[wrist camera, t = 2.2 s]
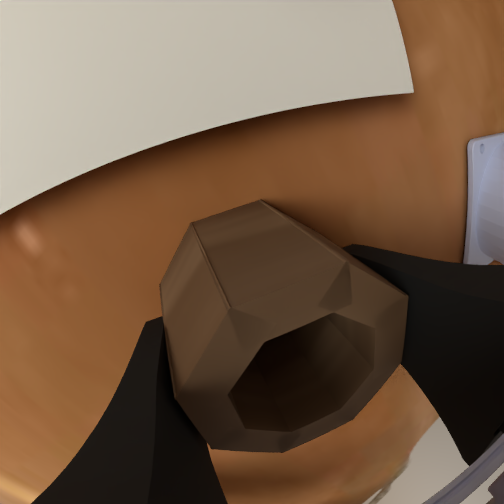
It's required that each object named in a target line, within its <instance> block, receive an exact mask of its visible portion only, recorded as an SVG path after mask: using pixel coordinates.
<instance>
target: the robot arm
mask: <svg viewBox="0 0 504 504" xmlns="http://www.w3.org/2000/svg"><path fill="white" fill-rule="evenodd" d="M467 155H468V209H467V228H466V240H465V251H464V260H463V264H462V263H452V262H444V261H438V260H432V259H426V258H421V257H416V256H411V255H406V254H402V253H397V252H393V251H388V250H383V249H379V248H374V247H369V246H364V245H356V244H352V245H349V246H347V247H344V248H342V249H343V250H345V251H346V252H348V253H349V254H350V255H352V256H353V257H355V258H356V259H358V260H359V261H361V262H362V263H363V264H365V265H366V266H368V267H369V268H370V269H372V270H373V271H375V272H376V273H378V274H379V275H380V276H382V277H383V278H385V279H386V280H387V281H389V282H390V283H391V284H393V285H394V286H396V287H397V288H398V289H400V290H401V291H402V292H404V293H405V294H407V295H408V297H409V298H408V307H407V319H406V329H405V338H404V347H403V355H402V362H401V365H402V366H403V367H404V368H405V369H406V370H407V371H408V373H409V374H410V375H411V376H412V378H413V379H414V380H415V382H416V383H417V384H418V386H419V387H420V388H421V390H422V391H423V392H424V394H425V395H426V397H427V398H428V399H429V401H430V402H431V404H432V405H433V407H434V408H435V410H436V411H437V413H438V414H439V416H440V418H441V419H442V421H443V423H444V424H445V426H446V427H447V429H448V431H449V433H450V434H451V436H452V438H453V440H454V442H455V444H456V446H457V448H458V450H459V452H460V454H461V456H462V458H463V459H464V461H465V462H466V463H467V464H468V465H469V467H468V468H467V469H466V470H465V471H464V472H463V473H461V474H460V475H459V476H458V477H457V478H455V479H454V480H453V481H452V482H451V483H449V484H448V485H447V486H445V487H444V488H443V489H442V490H440V491H439V492H438V493H436V494H435V495H434V496H432V497H431V498H430V499H428V500H427V501H425V502H424V503H423V504H459V503H461V502H462V501H463V500H464V499H465V498H467V497H468V496H469V495H470V494H471V493H472V492H473V491H475V490H476V489H477V488H478V487H479V486H480V485H481V484H482V483H483V482H484V481H485V480H487V479H488V477H490V476H491V475H492V474H493V473H494V472H495V471H496V470H497V468H499V467H500V465H501V464H502V463H503V462H504V265H488V264H489V263H491V262H492V261H493V260H496V261H498V262H500V263H502V264H504V133H498V134H493V135H489V136H484V137H479V138H474V139H471V140H470V141H469V143H468V146H467ZM488 491H489V492H490V493H491V494H492V495H493V498H492V499H491V500H490V501H489V502H488V503H486V504H504V472H503V473H502V474H501V475H500V476H499V477H498V478H497V479H496V480H495V481H494V482H493V483H492V484H491V486H489V488H488ZM31 504H228V503H227V501H226V498H225V496H224V493H223V491H222V488H221V486H220V483H219V481H218V478H217V475H216V472H215V470H214V467H213V464H212V461H211V458H210V454H209V450H208V446H207V442H206V440H205V439H204V438H203V436H202V435H201V434H200V432H199V431H198V430H197V428H196V427H195V426H194V424H193V423H192V421H191V420H190V419H189V417H188V416H187V414H186V413H185V412H184V410H183V409H182V407H181V406H180V404H179V403H178V401H177V400H175V398H174V392H173V386H172V380H171V374H170V368H169V361H168V354H167V347H166V340H165V330H164V322H163V316H162V317H159V318H156V319H153V320H150V321H147V322H146V323H145V325H144V327H143V330H142V332H141V335H140V337H139V339H138V342H137V344H136V347H135V349H134V352H133V354H132V357H131V359H130V361H129V364H128V366H127V368H126V371H125V373H124V375H123V377H122V379H121V382H120V384H119V386H118V388H117V390H116V392H115V394H114V396H113V398H112V400H111V402H110V404H109V405H108V407H107V409H106V411H105V412H104V414H103V416H102V417H101V419H100V421H99V422H98V424H97V426H96V427H95V429H94V430H93V432H92V433H91V434H90V436H89V437H88V439H87V440H86V442H85V443H84V444H83V446H82V447H81V449H80V450H79V452H78V453H77V454H76V456H75V457H74V458H73V459H72V461H71V462H70V463H69V464H68V465H67V467H66V468H65V469H64V470H63V471H62V472H61V474H60V475H59V476H58V477H57V478H56V479H55V480H54V481H53V483H52V484H51V485H50V486H49V487H48V488H47V489H46V490H45V491H44V492H43V493H42V494H41V495H39V496H38V497H37V498H36V499H35V500H34V501H33V502H32V503H31Z"/></svg>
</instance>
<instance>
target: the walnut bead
mask: <svg viewBox="0 0 504 504" xmlns="http://www.w3.org/2000/svg"><path fill="white" fill-rule="evenodd" d="M159 287H160V297H161V306H162V315H163V322H164V330H165V340H166V347H167V354H168V361H169V368H170V374H171V380H172V386H173V392H174V398H175V400H177V401H178V403H179V404H180V406H181V407H182V409H183V410H184V412H185V413H186V414H187V416H188V417H189V419H190V420H191V421H192V423H193V424H194V426H195V427H196V428H197V430H198V431H199V432H200V434H201V435H202V436H203V438H204V439H205V440H206V442H207V443H208V444H209V445H210V448H211V449H218V450H230V451H246V452H281V453H283V452H285V451H288V450H290V449H292V448H295V447H297V446H299V445H302V444H304V443H306V442H308V441H311V440H313V439H315V438H317V437H319V436H321V435H323V434H325V433H327V432H329V431H331V430H333V429H335V428H337V427H339V426H341V425H343V424H345V423H347V422H349V421H351V420H353V419H354V418H355V417H356V416H357V414H358V413H359V412H360V411H361V410H362V409H363V408H364V407H365V406H366V404H367V403H368V402H369V401H370V400H371V399H372V398H373V396H374V395H375V394H376V393H377V392H378V390H379V389H380V388H381V387H382V386H383V384H384V383H385V382H386V381H387V380H388V378H389V377H390V376H391V375H392V373H393V372H394V371H395V369H396V368H397V367H398V366H399V364H400V363H401V362H402V355H403V347H404V338H405V329H406V319H407V307H408V298H409V297H408V295H407V294H405V293H404V292H402V291H401V290H400V289H398V288H397V287H396V286H394V285H393V284H391V283H390V282H389V281H387V280H386V279H385V278H383V277H382V276H380V275H379V274H378V273H376V272H375V271H373V270H372V269H370V268H369V267H368V266H366V265H365V264H363V263H362V262H361V261H359V260H358V259H356V258H355V257H353V256H352V255H350V254H349V253H348V252H346V251H345V250H343V249H342V248H340V247H339V246H337V245H336V244H334V243H333V242H331V241H330V240H329V239H327V238H326V237H324V236H323V235H321V234H320V233H318V232H317V231H315V230H314V229H310V228H309V227H307V226H305V225H304V224H302V223H300V222H298V221H297V220H295V219H293V218H291V217H289V216H288V215H286V214H284V213H282V212H281V211H279V210H277V209H275V208H273V207H272V206H270V205H268V204H267V203H265V202H264V201H262V200H258V201H255V202H252V203H249V204H246V205H243V206H240V207H237V208H234V209H231V210H228V211H225V212H222V213H219V214H216V215H213V216H210V217H208V218H205V219H202V220H199V221H196V222H193V223H192V222H191V223H190V226H189V228H188V230H187V232H186V234H185V235H184V237H183V239H182V241H181V243H180V245H179V247H178V249H177V251H176V253H175V255H174V257H173V259H172V261H171V263H170V265H169V267H168V269H167V271H166V273H165V275H164V277H163V280H162V282H161V284H160V286H159Z"/></svg>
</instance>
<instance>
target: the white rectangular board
mask: <svg viewBox="0 0 504 504" xmlns="http://www.w3.org/2000/svg"><path fill="white" fill-rule="evenodd" d="M403 93H414V90H413V84H412V79H411V74H410V69H409V64H408V59H407V55H406V50H405V46H404V42H403V38H402V34H401V30H400V26H399V23H398V19H397V16H396V12H395V9H394V6H393V2H392V0H0V214H2V213H4V212H6V211H7V210H9V209H11V208H13V207H15V206H17V205H18V204H20V203H22V202H24V201H26V200H28V199H30V198H32V197H34V196H36V195H38V194H40V193H42V192H44V191H46V190H48V189H50V188H52V187H54V186H57V185H59V184H61V183H63V182H65V181H67V180H70V179H72V178H74V177H76V176H79V175H81V174H83V173H86V172H88V171H90V170H93V169H95V168H97V167H100V166H102V165H105V164H107V163H110V162H112V161H115V160H117V159H120V158H123V157H125V156H128V155H131V154H133V153H136V152H139V151H142V150H144V149H147V148H150V147H153V146H156V145H159V144H162V143H165V142H168V141H171V140H174V139H177V138H180V137H183V136H187V135H190V134H193V133H197V132H200V131H203V130H207V129H210V128H214V127H218V126H221V125H225V124H229V123H233V122H237V121H240V120H245V119H249V118H253V117H257V116H261V115H266V114H270V113H275V112H280V111H284V110H289V109H294V108H300V107H305V106H310V105H316V104H322V103H328V102H334V101H341V100H348V99H356V98H363V97H372V96H381V95H391V94H403Z"/></svg>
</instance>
